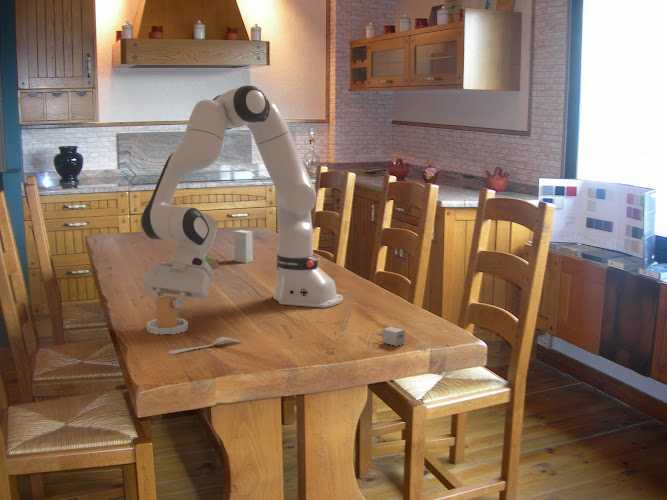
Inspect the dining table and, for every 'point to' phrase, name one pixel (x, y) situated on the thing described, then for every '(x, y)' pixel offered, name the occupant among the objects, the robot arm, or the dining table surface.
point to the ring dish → (177, 329)
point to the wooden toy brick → (166, 312)
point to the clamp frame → (213, 263)
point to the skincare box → (243, 246)
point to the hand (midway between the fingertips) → (165, 306)
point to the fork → (203, 346)
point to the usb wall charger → (393, 336)
